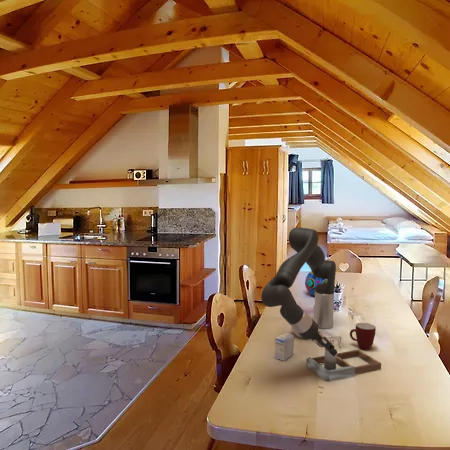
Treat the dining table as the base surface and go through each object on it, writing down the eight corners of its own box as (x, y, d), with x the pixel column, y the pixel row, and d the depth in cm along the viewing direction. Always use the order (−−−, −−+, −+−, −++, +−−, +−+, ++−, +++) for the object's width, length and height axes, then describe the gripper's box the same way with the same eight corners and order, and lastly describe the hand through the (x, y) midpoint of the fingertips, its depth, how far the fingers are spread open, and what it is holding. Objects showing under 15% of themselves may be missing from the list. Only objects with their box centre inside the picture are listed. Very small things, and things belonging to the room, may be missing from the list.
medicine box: (284, 352, 163) (284, 332, 162) (293, 355, 160) (294, 334, 159) (274, 358, 157) (274, 338, 156) (284, 361, 154) (284, 340, 153)
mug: (347, 348, 166) (348, 326, 165) (350, 342, 173) (351, 320, 172) (373, 353, 161) (374, 330, 160) (375, 346, 169) (376, 324, 168)
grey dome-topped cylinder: (321, 368, 149) (322, 348, 148) (331, 366, 150) (332, 346, 149) (328, 373, 144) (329, 353, 144) (338, 371, 146) (339, 351, 145)
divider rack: (305, 365, 151) (306, 356, 151) (358, 355, 160) (358, 347, 160) (326, 381, 138) (327, 372, 138) (382, 370, 147) (382, 361, 147)
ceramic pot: (303, 298, 239) (304, 274, 237) (306, 290, 256) (306, 268, 254) (332, 300, 234) (333, 276, 232) (333, 292, 251) (334, 270, 249)
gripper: (321, 322, 135) (346, 349, 140) (299, 310, 148) (323, 334, 153) (307, 339, 133) (333, 365, 138) (286, 325, 146) (311, 349, 152)
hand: (328, 349), depth 146 cm, fingers open, 8 cm apart
